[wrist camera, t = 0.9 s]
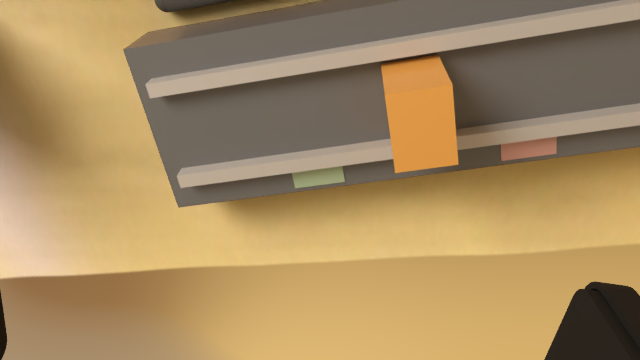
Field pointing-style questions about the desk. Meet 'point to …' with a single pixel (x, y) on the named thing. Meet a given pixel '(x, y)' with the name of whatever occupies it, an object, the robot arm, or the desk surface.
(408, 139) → the block
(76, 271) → the desk surface
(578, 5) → the grey railed slider base
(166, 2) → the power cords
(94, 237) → the desk surface
